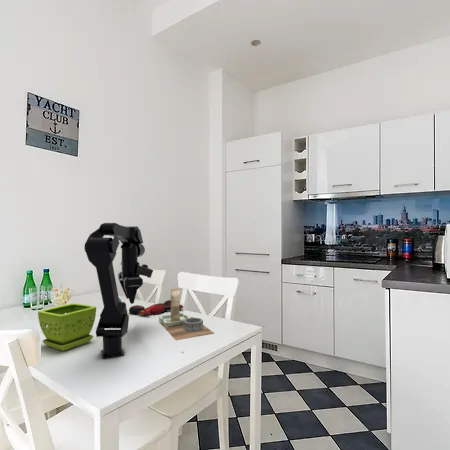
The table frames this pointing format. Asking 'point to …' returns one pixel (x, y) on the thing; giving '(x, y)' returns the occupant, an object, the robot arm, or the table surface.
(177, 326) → the stand
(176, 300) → the dowel
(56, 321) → the flower pot
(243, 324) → the table surface
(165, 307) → the toy motorcycle
